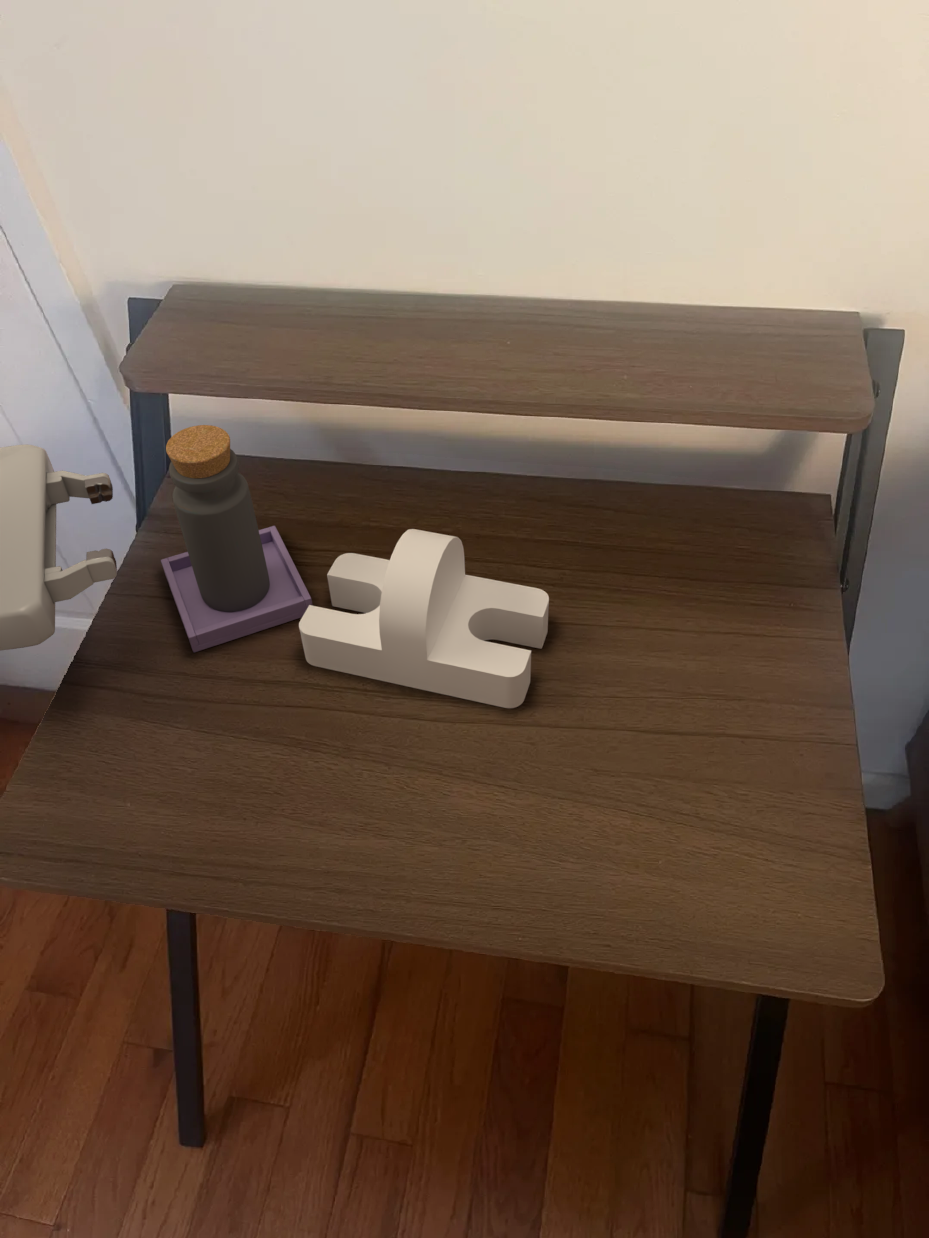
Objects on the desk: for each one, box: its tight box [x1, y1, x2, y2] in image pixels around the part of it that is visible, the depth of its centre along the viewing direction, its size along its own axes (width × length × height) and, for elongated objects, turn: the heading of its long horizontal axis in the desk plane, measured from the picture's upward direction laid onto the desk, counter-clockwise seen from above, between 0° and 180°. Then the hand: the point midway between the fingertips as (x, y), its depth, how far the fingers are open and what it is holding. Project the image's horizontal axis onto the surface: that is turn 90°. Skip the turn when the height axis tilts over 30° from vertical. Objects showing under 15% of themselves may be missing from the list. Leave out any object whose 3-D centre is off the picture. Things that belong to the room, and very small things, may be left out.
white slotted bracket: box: [298, 528, 550, 709], centre depth 78 cm, size 10×18×10 cm, turn 73°
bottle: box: [165, 424, 270, 612], centre depth 80 cm, size 6×6×15 cm
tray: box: [160, 525, 314, 653], centre depth 85 cm, size 10×10×2 cm
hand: (113, 522), depth 77 cm, fingers open, 8 cm apart
